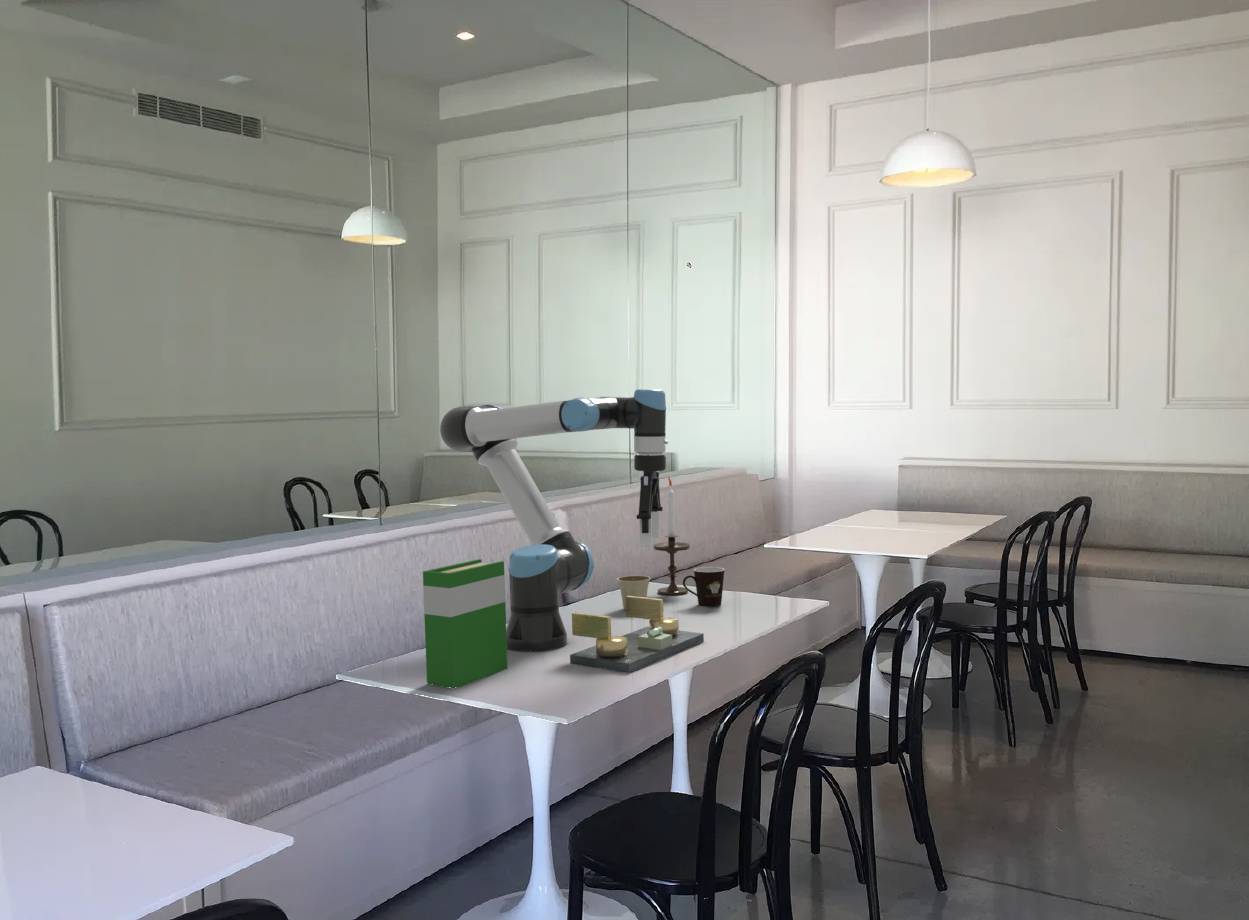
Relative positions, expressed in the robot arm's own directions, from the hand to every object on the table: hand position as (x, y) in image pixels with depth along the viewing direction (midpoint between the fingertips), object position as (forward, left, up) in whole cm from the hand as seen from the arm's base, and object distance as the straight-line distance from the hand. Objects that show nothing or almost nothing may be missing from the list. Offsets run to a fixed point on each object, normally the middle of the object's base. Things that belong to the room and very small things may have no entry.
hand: (649, 542), depth 253 cm
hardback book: (-44, -21, -24) cm, 55 cm away
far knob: (0, +1, -22) cm, 22 cm away
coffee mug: (+22, +40, -24) cm, 52 cm away
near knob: (-15, -15, -22) cm, 30 cm away
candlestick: (+17, +60, -24) cm, 67 cm away
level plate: (-5, -9, -24) cm, 26 cm away
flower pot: (+2, +40, -24) cm, 47 cm away
